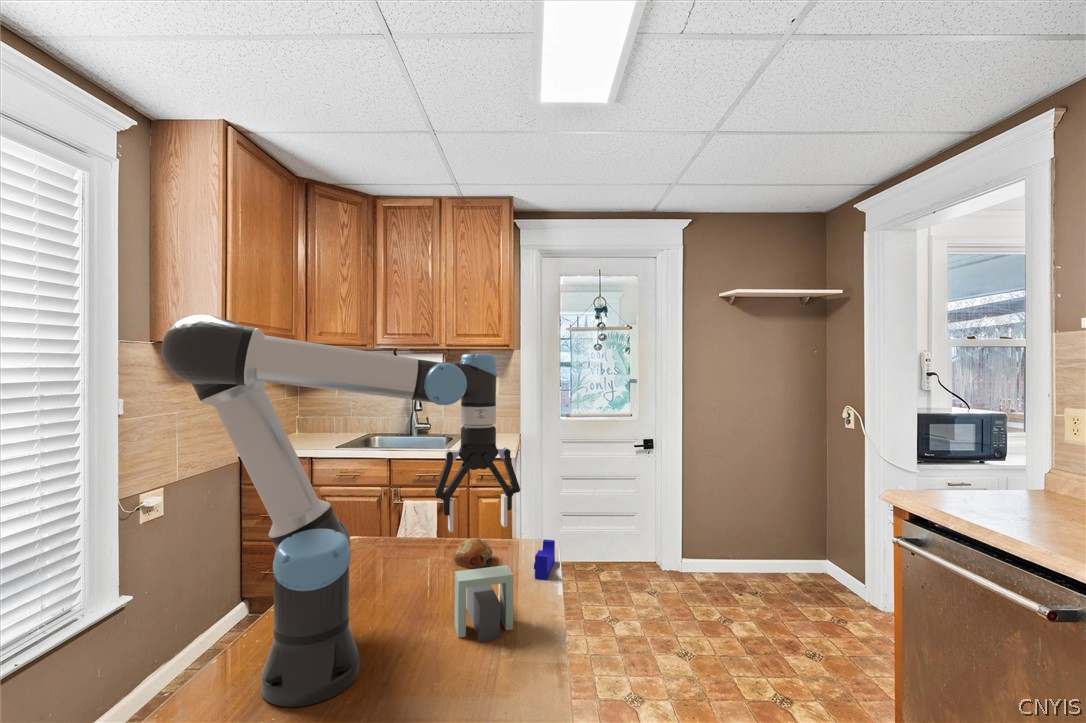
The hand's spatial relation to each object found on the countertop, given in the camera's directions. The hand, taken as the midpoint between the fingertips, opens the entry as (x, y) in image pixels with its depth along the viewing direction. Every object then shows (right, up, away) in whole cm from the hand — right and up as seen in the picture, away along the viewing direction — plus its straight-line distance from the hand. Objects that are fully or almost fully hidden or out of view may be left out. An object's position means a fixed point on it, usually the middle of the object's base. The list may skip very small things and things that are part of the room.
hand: (477, 527), depth 111 cm
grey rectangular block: (+1, -18, -4) cm, 18 cm away
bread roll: (-4, -18, +27) cm, 33 cm away
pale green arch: (+2, -18, -7) cm, 19 cm away
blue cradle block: (+14, -19, +22) cm, 32 cm away
